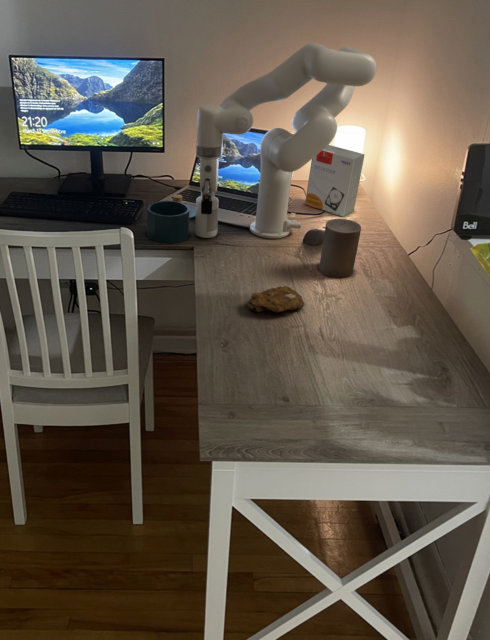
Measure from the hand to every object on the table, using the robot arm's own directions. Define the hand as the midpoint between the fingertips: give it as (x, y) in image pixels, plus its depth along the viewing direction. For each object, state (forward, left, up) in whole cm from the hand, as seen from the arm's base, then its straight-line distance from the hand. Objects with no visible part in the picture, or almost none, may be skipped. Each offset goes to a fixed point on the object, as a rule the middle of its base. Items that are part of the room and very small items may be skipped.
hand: (207, 208), depth 205 cm
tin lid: (+10, -16, -8) cm, 21 cm away
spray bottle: (0, 0, -8) cm, 8 cm away
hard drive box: (-41, -30, -9) cm, 51 cm away
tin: (+12, +1, -9) cm, 15 cm away
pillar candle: (-38, +18, -9) cm, 43 cm away
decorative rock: (-20, +42, -9) cm, 48 cm away
